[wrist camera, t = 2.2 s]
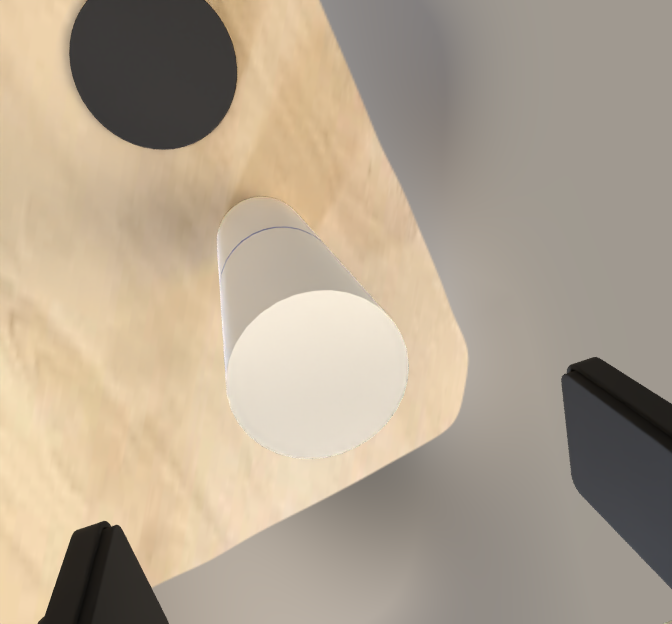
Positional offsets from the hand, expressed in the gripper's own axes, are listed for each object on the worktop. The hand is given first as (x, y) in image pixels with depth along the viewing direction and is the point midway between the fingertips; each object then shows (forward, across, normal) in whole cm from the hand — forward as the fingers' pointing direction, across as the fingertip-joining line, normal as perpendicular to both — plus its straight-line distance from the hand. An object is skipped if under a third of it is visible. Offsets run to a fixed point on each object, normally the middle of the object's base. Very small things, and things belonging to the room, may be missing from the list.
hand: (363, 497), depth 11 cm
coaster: (+35, +3, -12) cm, 37 cm away
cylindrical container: (+35, 0, +2) cm, 35 cm away
